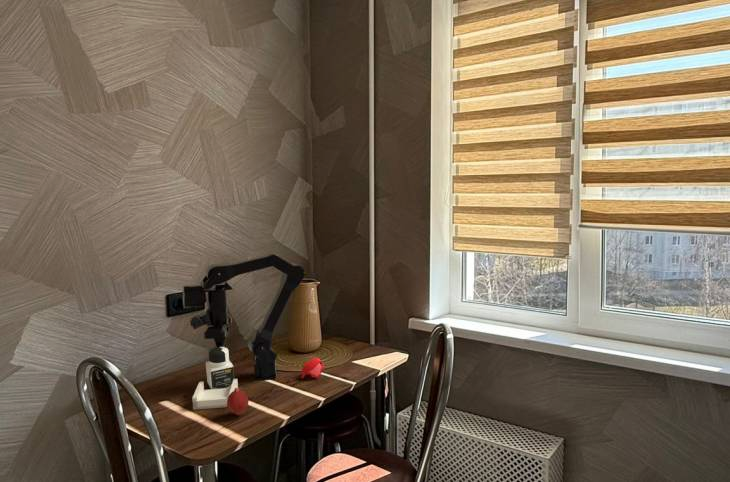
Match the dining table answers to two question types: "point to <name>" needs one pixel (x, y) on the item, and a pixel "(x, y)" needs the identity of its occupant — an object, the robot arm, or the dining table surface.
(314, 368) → the cap
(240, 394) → the red rounded lump
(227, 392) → the cradle
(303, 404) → the dining table surface
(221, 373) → the medicine bottle
